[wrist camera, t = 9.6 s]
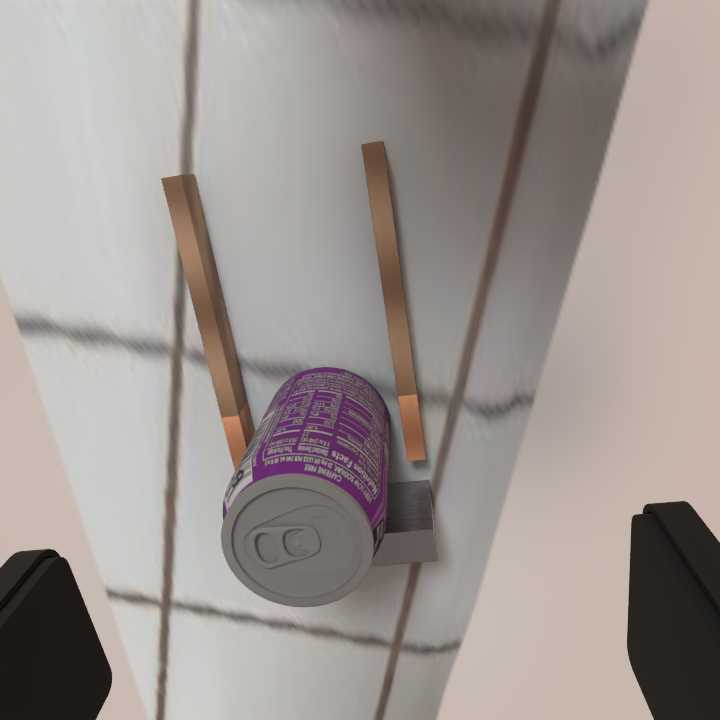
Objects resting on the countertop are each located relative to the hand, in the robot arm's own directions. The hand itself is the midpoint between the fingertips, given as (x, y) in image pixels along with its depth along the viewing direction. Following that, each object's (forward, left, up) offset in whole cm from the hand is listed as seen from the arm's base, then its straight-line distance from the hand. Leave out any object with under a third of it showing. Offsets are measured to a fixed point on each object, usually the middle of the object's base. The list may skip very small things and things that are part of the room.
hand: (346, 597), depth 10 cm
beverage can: (+7, -4, -24) cm, 25 cm away
